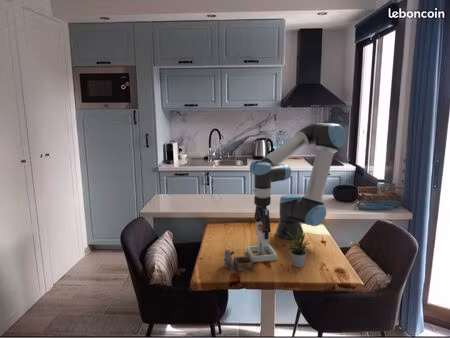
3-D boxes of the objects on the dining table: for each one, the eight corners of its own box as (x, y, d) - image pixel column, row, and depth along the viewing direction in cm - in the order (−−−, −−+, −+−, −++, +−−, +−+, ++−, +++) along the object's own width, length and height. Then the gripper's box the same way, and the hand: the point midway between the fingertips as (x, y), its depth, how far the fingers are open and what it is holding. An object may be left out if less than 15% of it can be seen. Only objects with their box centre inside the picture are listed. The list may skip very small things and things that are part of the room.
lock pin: (264, 253, 165) (265, 224, 162) (267, 257, 160) (268, 227, 158) (255, 254, 164) (256, 224, 161) (258, 258, 160) (258, 227, 157)
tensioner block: (249, 263, 157) (249, 244, 155) (254, 274, 147) (255, 253, 145) (222, 266, 155) (222, 246, 153) (226, 276, 145) (226, 256, 143)
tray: (269, 252, 169) (269, 244, 168) (276, 262, 158) (277, 254, 157) (247, 254, 167) (247, 246, 166) (252, 264, 156) (252, 256, 155)
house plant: (279, 256, 164) (280, 224, 161) (308, 256, 164) (309, 224, 161) (283, 270, 150) (284, 236, 147) (314, 271, 150) (316, 236, 147)
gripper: (248, 189, 168) (248, 230, 172) (261, 204, 144) (261, 251, 148) (263, 189, 169) (262, 229, 173) (278, 203, 145) (277, 249, 149)
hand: (261, 239), depth 161 cm, fingers open, 12 cm apart
